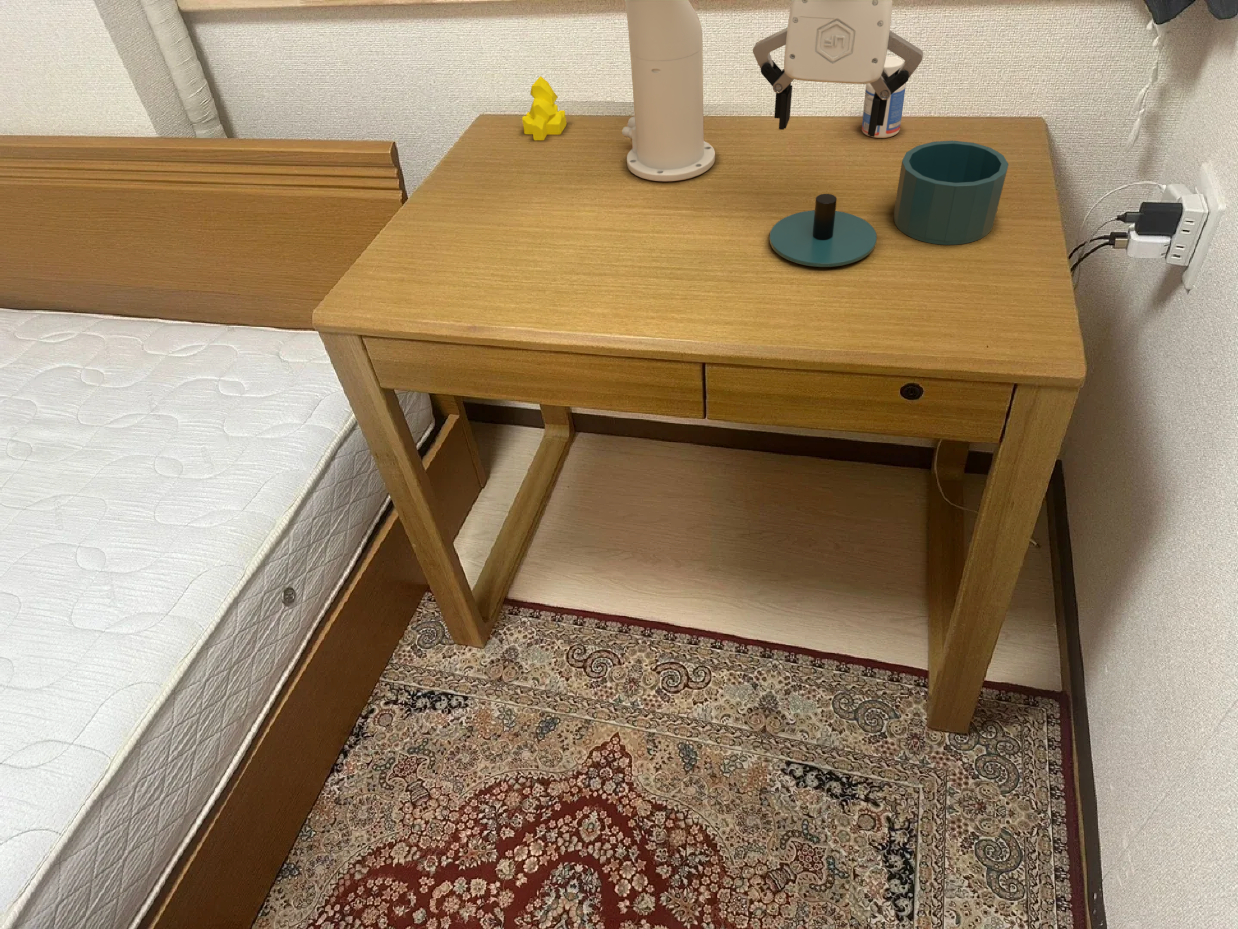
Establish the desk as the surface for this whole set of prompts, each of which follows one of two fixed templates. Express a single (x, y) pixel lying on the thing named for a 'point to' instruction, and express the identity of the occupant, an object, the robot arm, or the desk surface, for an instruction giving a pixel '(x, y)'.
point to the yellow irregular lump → (543, 112)
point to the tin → (949, 192)
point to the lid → (823, 236)
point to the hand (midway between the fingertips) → (827, 127)
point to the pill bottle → (893, 104)
